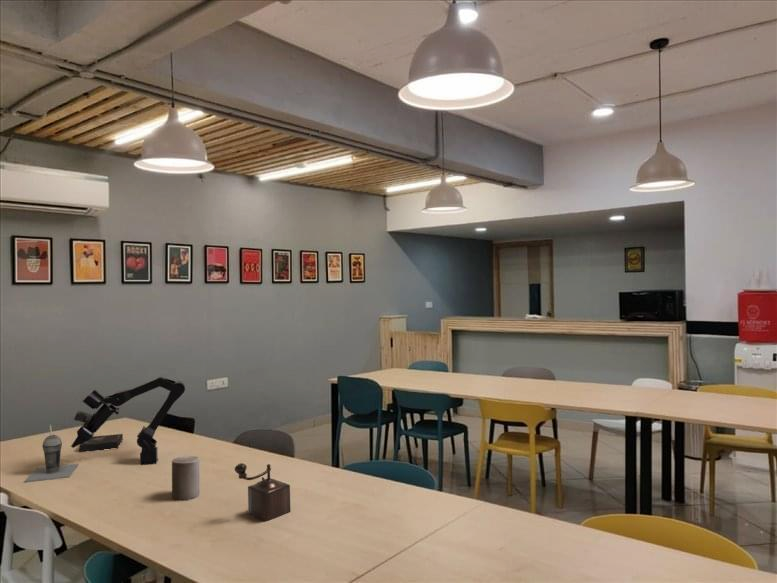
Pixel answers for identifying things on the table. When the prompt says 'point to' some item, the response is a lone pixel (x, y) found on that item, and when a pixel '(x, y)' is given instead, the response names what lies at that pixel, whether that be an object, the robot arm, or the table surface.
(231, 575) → the table surface
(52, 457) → the beverage cup
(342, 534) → the table surface
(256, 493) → the manual coffee grinder
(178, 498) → the pillar candle
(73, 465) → the rubber mat
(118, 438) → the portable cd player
